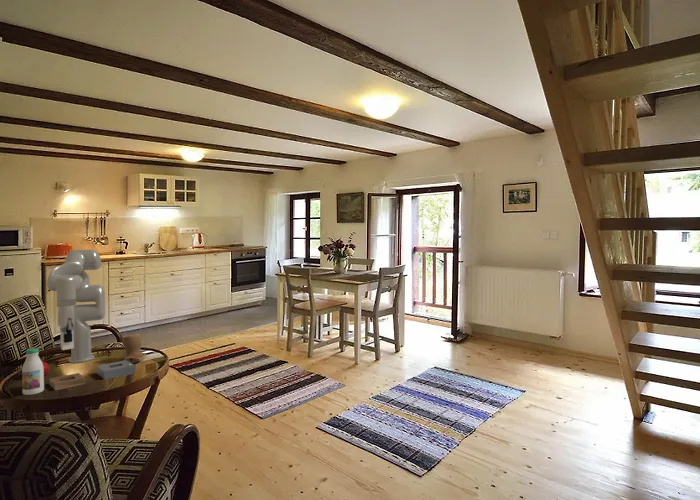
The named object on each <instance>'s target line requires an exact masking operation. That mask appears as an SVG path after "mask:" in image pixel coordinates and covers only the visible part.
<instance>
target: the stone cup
mask: <svg viewBox="0 0 700 500" xmlns="http://www.w3.org/2000/svg"><path fill="white" fill-rule="evenodd" d="M121 341H122V345H123V347H124V351H125V352H126V355H125V357H124V359H123V360H122V361H124V360H127V361H129V362H130V363H132V364H134V363H138V362H140V361H142V360H143V358H145V357H146V355H147V353H146V352H141V347H142V346H141V345H142V337H141V334H140V333H139V332H136V333H131V334H126V335H123V336H122V338H121Z"/></svg>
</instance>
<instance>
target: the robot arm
mask: <svg viewBox="0 0 700 500" xmlns="http://www.w3.org/2000/svg"><path fill="white" fill-rule="evenodd" d="M101 267H102V258H101V256H100V254H99V252H98V251H96V250H95V249H73V250H70V251H69V252H68V253H67V254H66V257H65V258H64V263H63V264H60V265H58V266H57V267H55V268H52V270H50V272H49V275H48V278H47V282H46V286H47V289H48V290H50V291H52V292H56V293H55V294H56V307H57V326H58V327H59V328H60V327H61V328H64V329H65V334H64V342H65V343H67V342H72V327H73V336H74V348H72V349H71V350H70V351H71V357H69V358H68V359H67V361H68V363H73V364H76V363H77V364H79V363H85V362H89V361H92V360H94V359H95V355H93V354H92V329H91V326H90V325H89V324H88V323H87V322H91V321H92V322H93V321H102V320H103V319H104V318H105V315H106V297H105V294H106V293H105V289H104V286H102V285H100V284H90V276H89V274H88V273H87V272H86V271H96V270H97V271H98V270H99V269H100V268H101ZM91 302H92V303H91ZM93 302H94V303H93ZM77 303H83V304H77ZM84 303H85V304H84ZM86 303H89V304H86ZM66 326H68V327H66ZM66 329H67V330H66Z"/></svg>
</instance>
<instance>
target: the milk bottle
mask: <svg viewBox="0 0 700 500" xmlns="http://www.w3.org/2000/svg"><path fill="white" fill-rule="evenodd" d="M39 353H40V349H39V347H30V348H27V349H26V350H25V355H26V358H25V361H24V363H23V365H22V368H21V369H22V370H21V386H22V387H21V388H22V395H24V396H28V395H29V396H30V395H35V394H36V395H37V394H39V393H42V392H44V391H45V376H44V369H43V363H42V362H43V360H42V359H41V358H40V356H39ZM40 359H41V360H40Z"/></svg>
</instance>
